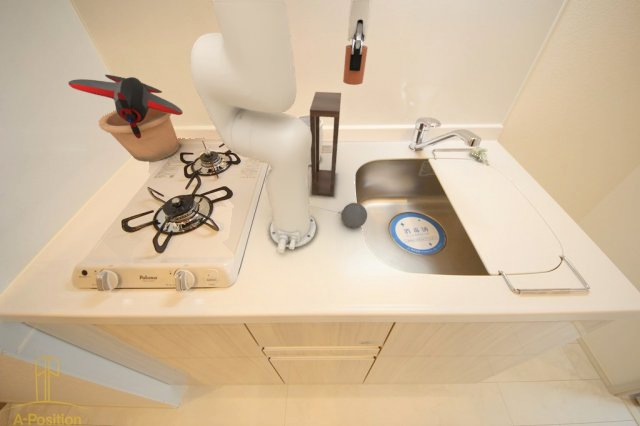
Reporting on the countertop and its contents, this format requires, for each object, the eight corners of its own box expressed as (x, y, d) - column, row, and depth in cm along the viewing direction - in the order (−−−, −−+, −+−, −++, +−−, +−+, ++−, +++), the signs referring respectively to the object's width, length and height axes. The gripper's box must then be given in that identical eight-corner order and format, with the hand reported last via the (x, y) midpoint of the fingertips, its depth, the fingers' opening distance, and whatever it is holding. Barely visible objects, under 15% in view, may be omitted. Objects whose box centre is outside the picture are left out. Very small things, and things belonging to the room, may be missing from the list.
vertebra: (484, 157, 79) (494, 149, 78) (468, 147, 83) (477, 140, 83) (483, 166, 84) (492, 159, 83) (468, 156, 88) (476, 150, 88)
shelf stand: (333, 196, 70) (339, 111, 50) (312, 195, 70) (309, 109, 50) (335, 174, 78) (341, 92, 58) (316, 172, 78) (315, 91, 58)
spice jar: (363, 85, 67) (368, 49, 60) (342, 84, 67) (345, 48, 60) (362, 79, 71) (366, 45, 64) (343, 78, 71) (346, 44, 65)
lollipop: (292, 226, 59) (301, 236, 65) (367, 220, 54) (368, 231, 60) (295, 197, 63) (303, 208, 69) (364, 188, 58) (366, 201, 64)
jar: (292, 155, 86) (288, 117, 75) (315, 149, 89) (315, 112, 78) (302, 169, 79) (299, 130, 68) (327, 163, 82) (328, 124, 71)
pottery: (129, 173, 77) (98, 135, 66) (123, 147, 89) (97, 111, 79) (192, 153, 86) (174, 117, 75) (179, 132, 98) (162, 98, 87)
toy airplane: (72, 35, 63) (82, 84, 72) (52, 78, 52) (67, 129, 62) (183, 74, 79) (179, 110, 89) (185, 113, 68) (181, 149, 78)
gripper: (348, -19, 59) (342, 60, 72) (348, -20, 47) (341, 75, 60) (376, -18, 59) (365, 61, 72) (382, -19, 47) (368, 76, 60)
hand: (354, 66), depth 66 cm, fingers closed on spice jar, 6 cm apart
